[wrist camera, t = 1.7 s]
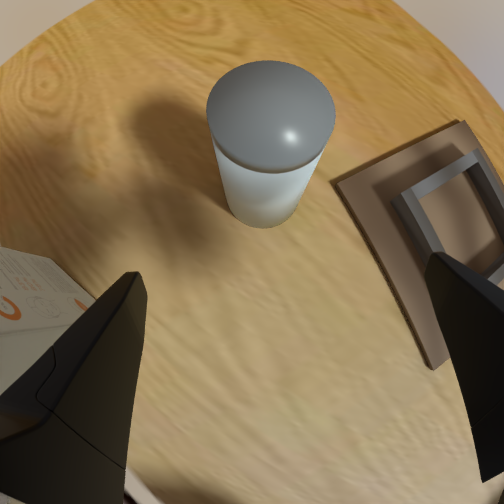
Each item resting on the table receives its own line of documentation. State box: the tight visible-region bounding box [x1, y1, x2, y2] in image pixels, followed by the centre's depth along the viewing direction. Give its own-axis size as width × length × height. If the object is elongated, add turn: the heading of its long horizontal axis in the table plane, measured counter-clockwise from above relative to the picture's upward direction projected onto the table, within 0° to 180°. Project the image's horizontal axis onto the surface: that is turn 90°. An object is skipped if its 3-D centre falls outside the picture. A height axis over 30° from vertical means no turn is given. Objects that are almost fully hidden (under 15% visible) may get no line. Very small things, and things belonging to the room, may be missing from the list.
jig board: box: [335, 120, 504, 371], centre depth 21 cm, size 16×16×3 cm
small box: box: [0, 246, 96, 395], centre depth 15 cm, size 8×6×13 cm
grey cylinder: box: [206, 61, 336, 228], centre depth 17 cm, size 5×5×11 cm
